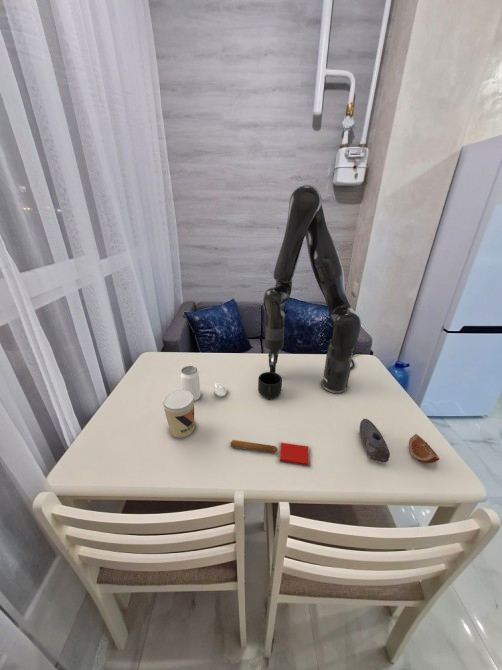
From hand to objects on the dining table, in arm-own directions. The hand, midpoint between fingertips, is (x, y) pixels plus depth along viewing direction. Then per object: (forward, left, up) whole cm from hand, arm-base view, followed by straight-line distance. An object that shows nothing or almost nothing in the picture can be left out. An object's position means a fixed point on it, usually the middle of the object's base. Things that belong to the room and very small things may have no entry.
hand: (272, 373), depth 110 cm
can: (+34, -5, -3) cm, 34 cm away
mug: (+8, +9, -3) cm, 12 cm away
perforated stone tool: (-5, +44, -3) cm, 45 cm away
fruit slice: (-15, +54, -3) cm, 56 cm away
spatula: (+23, +30, -2) cm, 38 cm away
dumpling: (+24, -1, -3) cm, 24 cm away
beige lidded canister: (+42, +9, -3) cm, 43 cm away
